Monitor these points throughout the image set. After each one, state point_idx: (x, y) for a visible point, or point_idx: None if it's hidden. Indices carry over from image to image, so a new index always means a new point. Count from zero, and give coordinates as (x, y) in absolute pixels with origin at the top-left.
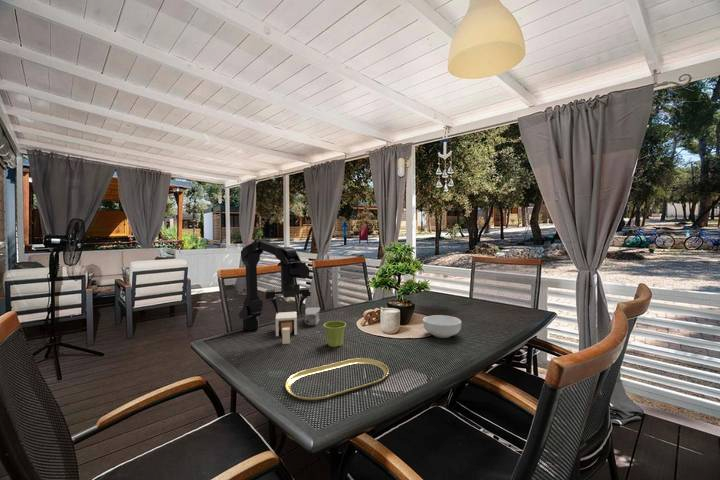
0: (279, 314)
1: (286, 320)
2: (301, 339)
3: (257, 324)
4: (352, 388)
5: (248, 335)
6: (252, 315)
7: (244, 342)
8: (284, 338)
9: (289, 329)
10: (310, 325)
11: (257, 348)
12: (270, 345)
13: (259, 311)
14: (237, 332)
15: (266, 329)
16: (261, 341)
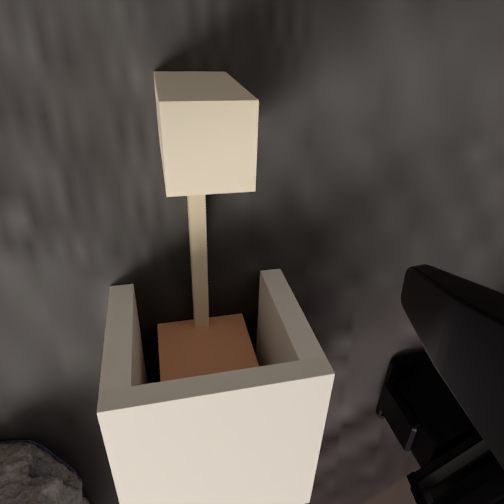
0: (287, 473)
1: None
2: (44, 166)
3: (402, 403)
4: None
5: None
6: (465, 462)
7: (495, 177)
8: (214, 79)
9: (161, 103)
10: (21, 442)
11: (442, 9)
12: (332, 62)
13: (447, 492)
14: None
15: None
16: (388, 176)
